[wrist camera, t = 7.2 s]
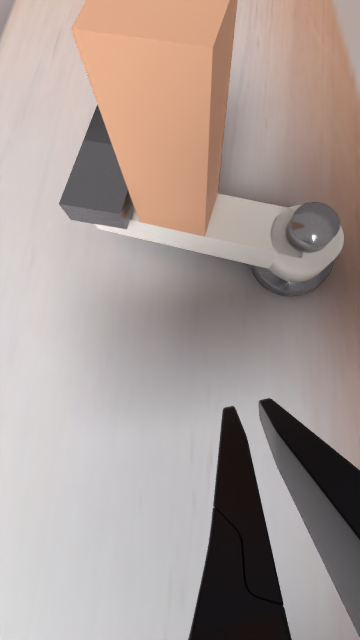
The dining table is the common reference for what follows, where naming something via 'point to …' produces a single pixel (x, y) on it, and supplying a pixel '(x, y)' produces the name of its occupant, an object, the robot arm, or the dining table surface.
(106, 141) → the dark grey block
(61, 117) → the dining table surface
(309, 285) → the pintle plate
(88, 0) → the link
